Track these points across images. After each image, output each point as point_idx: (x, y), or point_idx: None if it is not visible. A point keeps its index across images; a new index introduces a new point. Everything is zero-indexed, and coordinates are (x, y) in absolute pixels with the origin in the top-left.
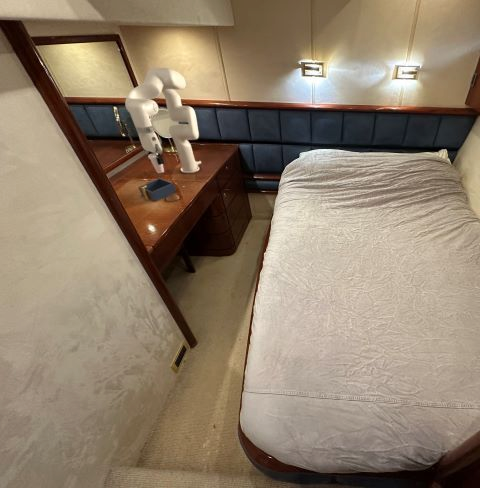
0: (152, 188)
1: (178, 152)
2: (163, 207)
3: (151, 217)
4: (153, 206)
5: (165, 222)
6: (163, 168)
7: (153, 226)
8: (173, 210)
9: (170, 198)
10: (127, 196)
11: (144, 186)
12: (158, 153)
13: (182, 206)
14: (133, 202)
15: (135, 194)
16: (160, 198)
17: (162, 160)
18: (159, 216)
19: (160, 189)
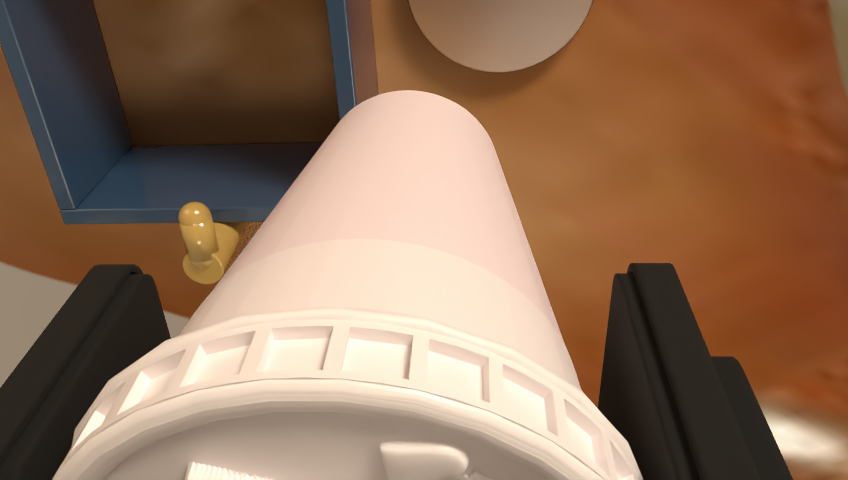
0: (71, 14)
1: None
2: (585, 188)
3: None
4: None
5: (838, 343)
6: (472, 139)
7: (775, 419)
8: (750, 170)
9: (493, 13)
10: (27, 247)
11: (202, 243)
12: (245, 410)
13: (794, 48)
14: (212, 285)
15: (32, 178)
16: (377, 88)
17: (755, 417)
18: (695, 311)
19: (357, 86)
